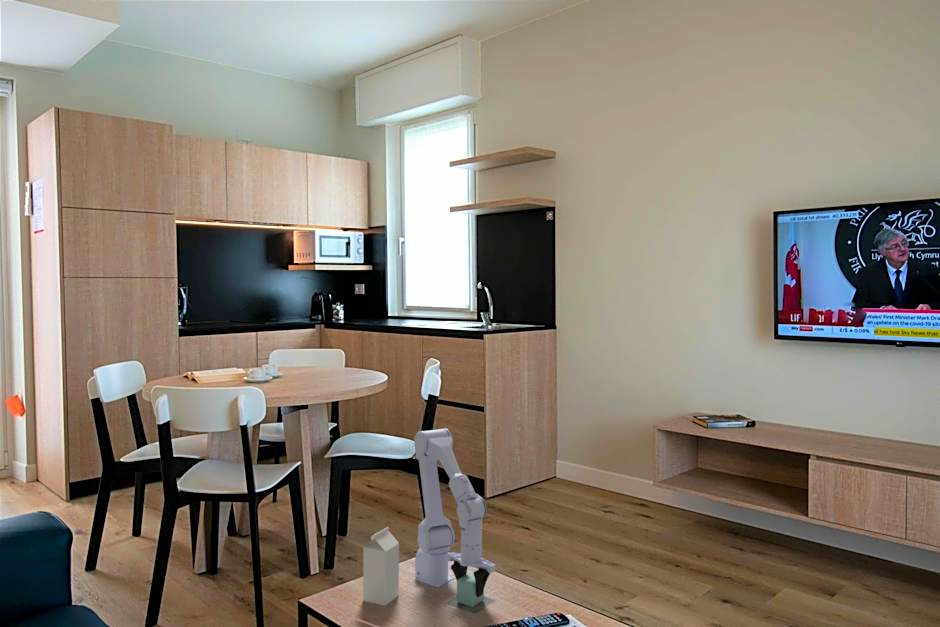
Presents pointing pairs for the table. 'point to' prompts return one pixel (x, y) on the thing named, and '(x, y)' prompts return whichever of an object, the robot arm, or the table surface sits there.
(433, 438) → the robot arm
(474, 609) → the peg stand
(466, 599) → the mint green cube
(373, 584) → the milk carton
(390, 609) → the table surface
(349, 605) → the table surface
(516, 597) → the table surface
